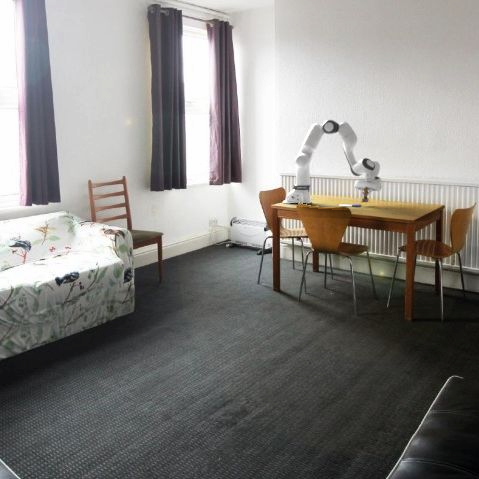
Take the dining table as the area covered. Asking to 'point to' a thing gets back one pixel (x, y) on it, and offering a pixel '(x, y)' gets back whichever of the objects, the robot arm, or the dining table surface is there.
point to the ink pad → (356, 205)
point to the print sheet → (345, 205)
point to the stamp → (365, 195)
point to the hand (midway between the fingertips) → (365, 193)
